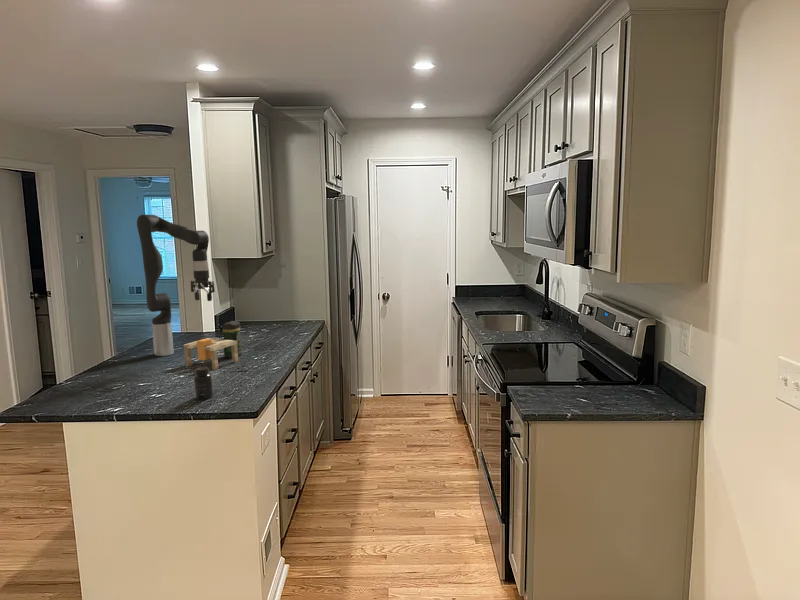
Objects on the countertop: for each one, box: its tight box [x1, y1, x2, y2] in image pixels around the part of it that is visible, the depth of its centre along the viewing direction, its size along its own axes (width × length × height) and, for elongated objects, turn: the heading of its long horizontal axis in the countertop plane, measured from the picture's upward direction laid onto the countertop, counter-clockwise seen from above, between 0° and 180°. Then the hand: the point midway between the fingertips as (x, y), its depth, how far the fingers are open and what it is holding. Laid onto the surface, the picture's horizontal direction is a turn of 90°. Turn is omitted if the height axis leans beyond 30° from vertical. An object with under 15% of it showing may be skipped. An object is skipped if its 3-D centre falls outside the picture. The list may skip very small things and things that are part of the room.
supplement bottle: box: [193, 366, 214, 400], centre depth 215 cm, size 7×7×12 cm
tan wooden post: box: [196, 338, 212, 361], centre depth 264 cm, size 4×6×10 cm
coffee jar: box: [222, 320, 243, 359], centre depth 282 cm, size 10×8×19 cm
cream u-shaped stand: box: [183, 337, 239, 370], centre depth 268 cm, size 20×16×11 cm
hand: (203, 300), depth 279 cm, fingers open, 8 cm apart
